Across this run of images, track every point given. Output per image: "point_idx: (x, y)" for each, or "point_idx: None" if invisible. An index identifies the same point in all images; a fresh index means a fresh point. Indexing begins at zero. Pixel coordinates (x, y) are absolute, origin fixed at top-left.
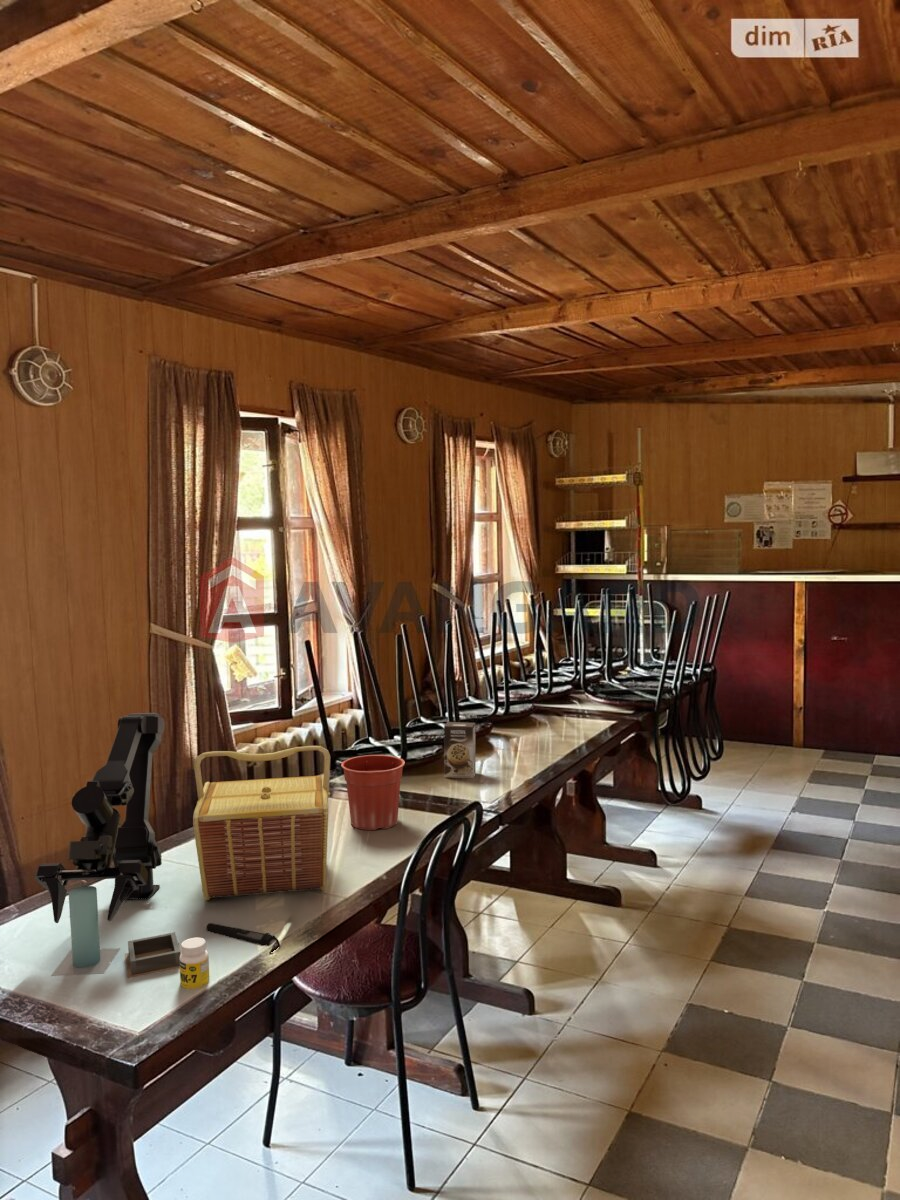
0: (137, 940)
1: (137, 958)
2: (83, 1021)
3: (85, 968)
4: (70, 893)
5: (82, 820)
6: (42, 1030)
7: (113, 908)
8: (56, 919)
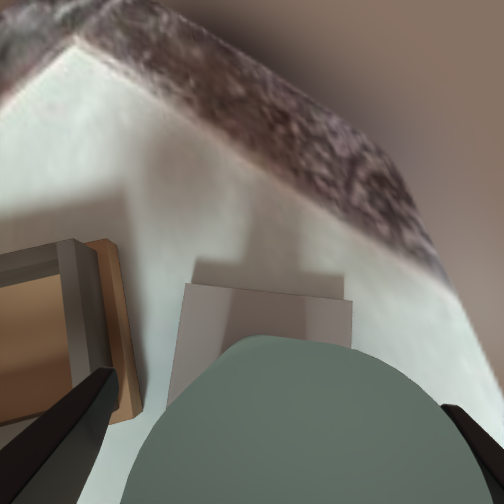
0: None
1: (49, 256)
2: (206, 104)
3: (252, 328)
4: (461, 489)
5: None
6: (291, 87)
7: (43, 415)
8: (449, 410)
